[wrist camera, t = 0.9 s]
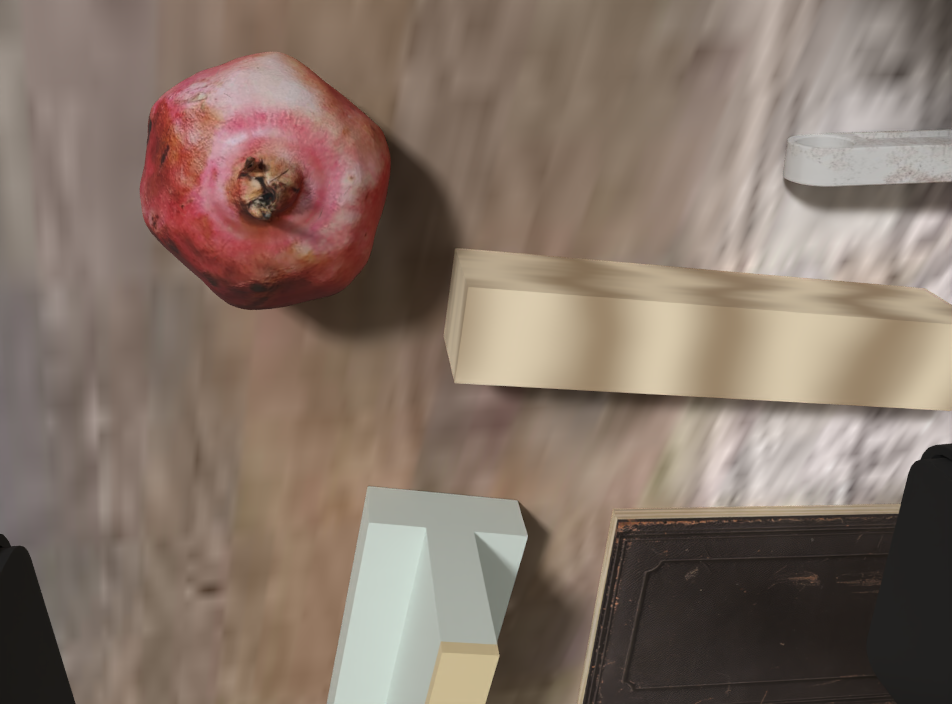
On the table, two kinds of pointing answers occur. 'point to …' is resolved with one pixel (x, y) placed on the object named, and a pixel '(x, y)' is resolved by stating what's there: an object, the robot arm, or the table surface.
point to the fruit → (264, 181)
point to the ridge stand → (427, 598)
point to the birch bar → (694, 332)
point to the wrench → (869, 158)
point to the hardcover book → (738, 606)
